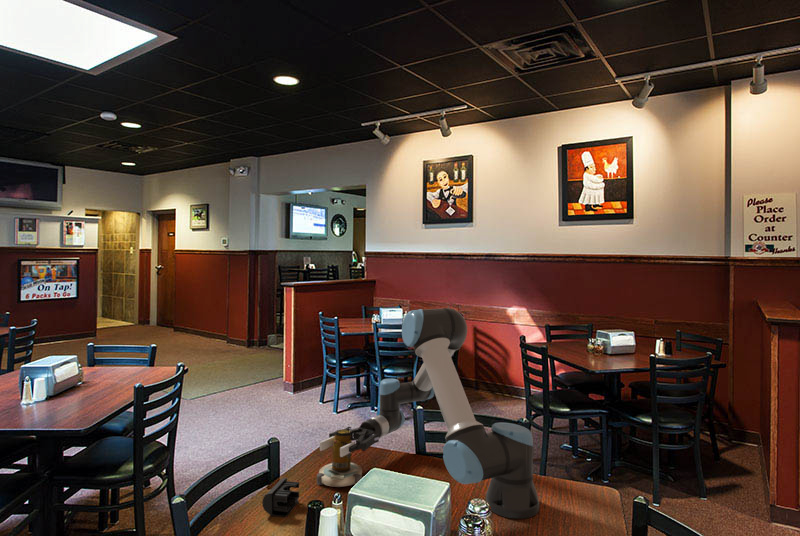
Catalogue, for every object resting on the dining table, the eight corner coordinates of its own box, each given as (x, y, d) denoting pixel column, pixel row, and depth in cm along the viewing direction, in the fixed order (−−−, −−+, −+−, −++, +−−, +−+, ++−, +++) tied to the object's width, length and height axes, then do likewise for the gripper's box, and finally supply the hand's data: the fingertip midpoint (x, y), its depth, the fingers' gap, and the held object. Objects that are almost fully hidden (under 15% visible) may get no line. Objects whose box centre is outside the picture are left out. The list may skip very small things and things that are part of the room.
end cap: (277, 499, 141) (277, 476, 141) (299, 501, 140) (299, 478, 140) (261, 516, 131) (261, 492, 131) (285, 518, 130) (285, 494, 130)
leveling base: (364, 468, 161) (364, 458, 161) (359, 489, 146) (359, 477, 146) (324, 468, 162) (324, 457, 162) (314, 488, 147) (314, 476, 147)
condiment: (343, 463, 159) (345, 427, 160) (359, 470, 152) (360, 433, 153) (325, 468, 154) (327, 430, 155) (340, 475, 148) (342, 436, 148)
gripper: (397, 445, 163) (355, 469, 144) (351, 433, 174) (307, 453, 156) (397, 424, 163) (355, 444, 144) (351, 413, 174) (307, 431, 156)
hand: (330, 449), depth 150 cm, fingers open, 8 cm apart
